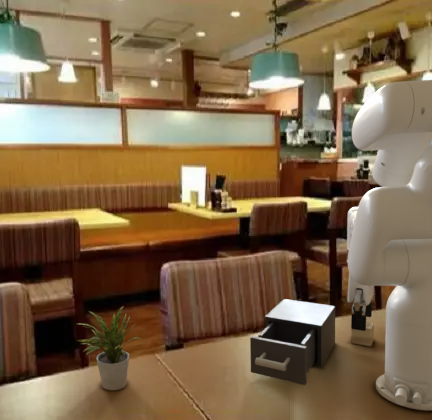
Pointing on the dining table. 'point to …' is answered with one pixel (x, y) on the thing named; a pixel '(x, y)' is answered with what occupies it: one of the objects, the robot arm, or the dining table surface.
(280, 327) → the pull-out drawer
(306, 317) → the drawer cabinet
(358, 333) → the cube
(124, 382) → the house plant
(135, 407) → the dining table surface
